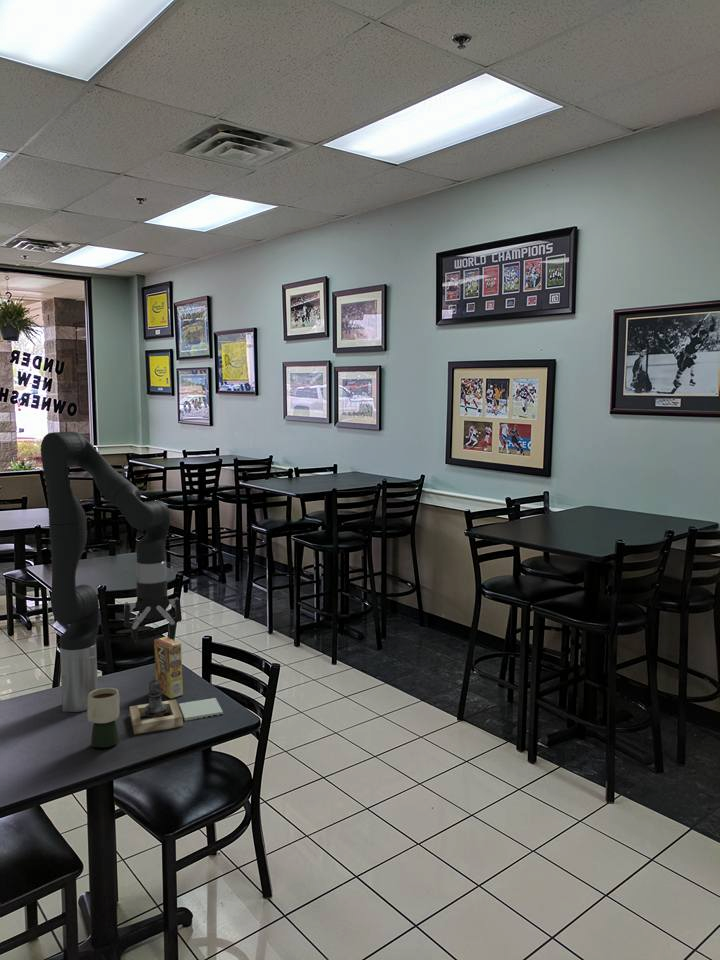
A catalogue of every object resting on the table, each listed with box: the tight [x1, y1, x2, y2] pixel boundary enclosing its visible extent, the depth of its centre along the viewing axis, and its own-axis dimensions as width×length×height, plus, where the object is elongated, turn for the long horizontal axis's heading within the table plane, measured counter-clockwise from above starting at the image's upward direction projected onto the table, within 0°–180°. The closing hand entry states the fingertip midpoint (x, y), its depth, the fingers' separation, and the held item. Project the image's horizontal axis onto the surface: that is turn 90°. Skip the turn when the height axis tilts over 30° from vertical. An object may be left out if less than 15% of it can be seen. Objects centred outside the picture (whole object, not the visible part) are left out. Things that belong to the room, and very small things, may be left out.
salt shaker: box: [144, 676, 167, 719], centre depth 185 cm, size 6×6×12 cm
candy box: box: [153, 636, 184, 699], centre depth 203 cm, size 9×4×15 cm, turn 44°
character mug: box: [86, 687, 120, 748], centre depth 171 cm, size 11×7×13 cm, turn 161°
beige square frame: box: [129, 698, 184, 735], centre depth 185 cm, size 12×12×2 cm
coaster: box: [178, 697, 224, 722], centre depth 192 cm, size 10×10×1 cm
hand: (153, 640), depth 183 cm, fingers open, 8 cm apart
